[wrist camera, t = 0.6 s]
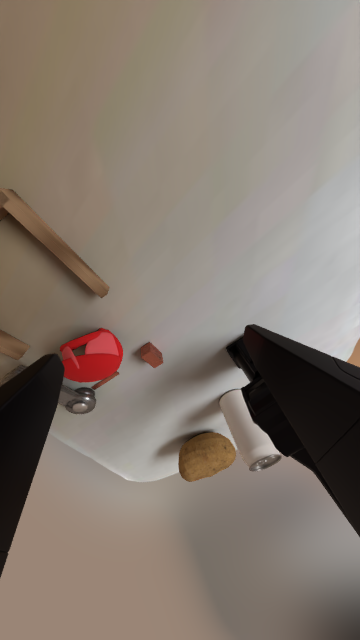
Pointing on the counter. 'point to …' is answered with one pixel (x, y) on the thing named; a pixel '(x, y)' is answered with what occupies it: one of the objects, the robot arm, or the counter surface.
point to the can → (248, 433)
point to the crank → (64, 396)
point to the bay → (10, 202)
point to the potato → (205, 456)
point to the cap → (92, 357)
